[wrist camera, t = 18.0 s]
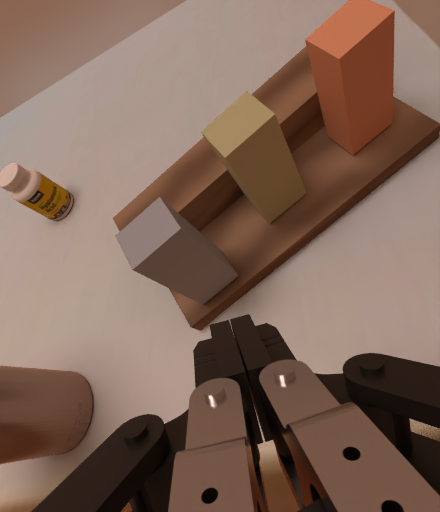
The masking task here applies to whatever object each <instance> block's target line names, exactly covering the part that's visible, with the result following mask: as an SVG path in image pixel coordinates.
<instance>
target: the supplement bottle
mask: <svg viewBox="0 0 440 512" xmlns="http://www.w3.org/2000/svg"><path fill="white" fill-rule="evenodd" d="M0 187H2V188H4V189H5V190H7V191H10V193H11V196H12V197H13V199H15V200H16V201H18V202H19V203H21V204H23V205H25V206H27V207H29V208H31V209H32V210H34V211H36V212H38V213H40V214H42V215H44V216H45V217H47V218H49V219H51V220H60V219H62V218H64V217H65V216H66V215H67V214H68V212H69V211H70V209H71V207H72V204H73V197H72V195H71V194H70V193H69V192H68V191H67V190H65V189H64V188H62V187H61V186H59V185H57V184H56V183H54V182H53V181H51V180H50V179H48V178H47V177H45V176H44V175H42V174H41V173H39V172H38V171H36V170H33V169H27V170H25V169H24V168H23V167H21V166H20V165H18V164H16V163H10V164H8V165H7V166H6V167H5V168H4V169H3V170H2V171H1V173H0Z"/></svg>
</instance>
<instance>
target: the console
mask: <svg viewBox="0 0 440 512" xmlns="http://www.w3.org/2000/svg"><path fill="white" fill-rule="evenodd" d="M252 96H254V97H255V98H256V99H257V100H259V101H260V102H261V103H262V104H263V105H265V106H266V107H267V108H268V109H270V110H271V111H272V112H273V113H275V115H276V117H277V120H278V122H279V125H280V127H281V130H282V132H283V135H284V137H285V140H286V142H287V145H288V147H289V150H290V152H291V155H292V158H293V160H294V163H295V165H296V168H297V170H298V173H299V175H300V178H301V180H302V183H303V185H304V188H305V190H306V194H305V195H304V196H302V197H301V198H300V199H299V200H298V201H296V202H295V203H294V204H293V205H292V206H290V207H289V208H288V209H287V210H286V211H284V212H283V213H282V214H281V215H280V216H278V217H277V218H276V219H275V220H274V221H272V222H271V223H269V222H268V221H267V220H266V219H265V218H264V217H263V216H262V215H261V213H260V212H259V211H258V210H257V209H256V208H255V207H254V206H253V204H252V203H251V202H250V201H249V200H248V198H247V197H246V195H245V194H244V193H243V191H242V190H241V188H240V187H239V186H238V184H237V183H236V181H235V180H234V178H233V177H232V176H231V174H230V173H229V171H228V170H227V168H226V167H225V166H224V164H223V163H222V161H221V160H220V159H219V157H218V156H217V154H216V153H215V151H214V150H213V149H212V147H211V146H210V144H209V143H208V142H207V140H206V139H205V137H203V138H202V139H201V140H200V141H199V142H198V143H197V144H196V145H194V146H193V147H192V148H191V149H190V150H189V151H188V152H187V153H185V154H184V155H183V156H182V157H181V158H180V159H179V160H178V161H176V162H175V163H174V164H173V165H172V166H171V167H170V168H169V169H167V170H166V171H165V172H164V173H163V174H162V175H161V176H160V177H158V178H157V179H156V180H155V181H154V182H153V183H152V184H151V185H149V186H148V187H147V188H146V189H145V190H144V191H143V192H142V193H140V194H139V195H138V196H137V197H136V198H135V199H134V200H133V201H131V202H130V203H129V204H128V205H127V206H126V207H125V208H124V209H122V210H121V211H120V212H119V213H118V214H117V215H116V216H115V217H113V219H114V221H115V223H116V225H117V227H118V229H119V231H121V230H122V229H124V228H125V227H126V226H127V225H128V224H129V223H130V222H132V221H133V220H134V219H135V218H136V217H137V216H138V215H140V214H141V213H142V212H143V211H144V210H145V209H146V208H147V207H149V206H150V205H151V204H152V203H153V202H154V201H155V200H157V199H158V198H159V197H161V198H162V199H163V200H164V201H165V202H166V203H167V204H168V205H170V206H171V207H172V208H173V209H174V210H175V211H176V212H178V213H179V214H180V215H181V216H182V217H183V218H184V219H186V220H187V221H188V222H189V223H190V224H191V225H192V226H194V227H195V228H196V229H197V230H198V231H199V232H200V233H202V234H203V235H204V236H205V237H206V238H207V239H208V240H209V241H211V242H212V243H213V244H214V245H215V246H216V247H217V248H219V249H220V250H221V252H222V253H223V255H224V256H225V257H226V259H227V260H228V261H229V263H230V264H231V265H232V267H233V268H234V270H235V271H236V272H237V274H238V275H239V276H238V277H236V278H235V279H234V280H233V281H232V282H230V283H229V284H228V285H227V286H225V287H224V288H223V289H222V290H221V291H219V292H218V293H217V294H216V295H214V296H213V297H212V298H211V299H210V300H208V301H207V302H206V303H205V304H203V305H202V304H200V303H198V302H196V301H194V300H192V299H190V298H188V297H186V296H184V295H182V294H180V293H178V292H176V291H174V290H172V289H170V288H169V289H170V291H171V293H172V295H173V296H174V298H175V300H176V302H177V304H178V305H179V307H180V309H181V311H182V312H183V314H184V316H185V318H186V320H187V321H188V323H189V325H190V327H192V328H195V329H197V330H200V329H202V328H203V327H204V326H205V325H207V324H208V323H209V322H210V321H212V320H213V319H214V318H215V317H217V316H218V315H219V314H220V313H221V312H223V311H224V310H225V309H226V308H228V307H229V306H230V305H231V304H233V303H234V302H235V301H236V300H238V299H239V298H240V297H241V296H243V295H244V294H245V293H246V292H248V291H249V290H250V289H251V288H252V287H254V286H255V285H256V284H257V283H259V282H260V281H261V280H262V279H264V278H265V277H266V276H267V275H269V274H270V273H271V272H272V271H274V270H275V269H276V268H277V267H278V266H280V265H281V264H282V263H283V262H285V261H286V260H287V259H288V258H290V257H291V256H292V255H293V254H295V253H296V252H297V251H298V250H300V249H301V248H302V247H303V246H305V245H306V244H307V243H308V242H309V241H311V240H312V239H313V238H314V237H316V236H317V235H318V234H319V233H321V232H322V231H323V230H324V229H326V228H327V227H328V226H329V225H331V224H332V223H333V222H334V221H335V220H337V219H338V218H339V217H340V216H342V215H343V214H344V213H345V212H347V211H348V210H349V209H350V208H352V207H353V206H354V205H355V204H357V203H358V202H359V201H360V200H361V199H363V198H364V197H365V196H366V195H368V194H369V193H370V192H371V191H373V190H374V189H375V188H376V187H378V186H379V185H380V184H381V183H383V182H384V181H385V180H386V179H388V178H389V177H390V176H391V175H392V174H394V173H395V172H396V171H397V170H399V169H400V168H401V167H402V166H404V165H405V164H406V163H407V162H409V161H410V160H411V159H412V158H414V157H415V156H416V155H417V154H418V153H420V152H421V151H422V150H423V149H425V148H426V147H427V146H428V145H430V144H431V143H432V142H433V141H435V140H436V139H437V138H438V136H439V131H440V124H439V123H438V122H436V121H434V120H433V119H431V118H429V117H427V116H426V115H424V114H422V113H421V112H419V111H417V110H415V109H414V108H412V107H410V106H409V105H407V104H405V103H403V102H402V101H400V100H398V99H397V98H395V97H393V123H391V124H390V125H389V126H388V127H387V128H385V129H384V130H383V131H382V132H380V133H379V134H378V135H377V136H376V137H374V138H373V139H372V140H371V141H370V142H368V143H367V144H366V145H365V146H364V147H362V148H361V149H360V150H359V151H358V152H356V153H355V154H354V155H352V154H351V153H349V152H348V151H347V150H345V149H344V148H343V147H341V146H340V145H339V144H337V143H336V142H335V141H334V140H332V139H331V138H330V137H328V136H327V132H326V128H325V123H324V119H323V115H322V110H321V106H320V102H319V97H318V93H317V89H316V84H315V80H314V76H313V71H312V67H311V63H310V58H309V54H308V50H307V46H306V47H305V48H304V49H302V50H301V51H300V52H299V53H298V54H297V55H296V56H295V57H293V58H292V59H291V60H290V61H289V62H288V63H287V64H286V65H284V66H283V67H282V68H281V69H280V70H279V71H278V72H277V73H275V74H274V75H273V76H272V77H271V78H270V79H269V80H268V81H266V82H265V83H264V84H263V85H262V86H261V87H260V88H259V89H257V90H256V91H255V92H254V93H253V94H252Z"/></svg>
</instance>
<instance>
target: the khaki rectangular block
mask: <svg viewBox="0 0 440 512" xmlns="http://www.w3.org/2000/svg"><path fill="white" fill-rule="evenodd" d="M201 133H202V134H203V136H204V137H205V139H206V140H207V142H208V143H209V144H210V146H211V147H212V149H213V150H214V151H215V153H216V154H217V156H218V157H219V159H220V160H221V161H222V163H223V164H224V166H225V167H226V168H227V170H228V171H229V173H230V174H231V176H232V177H233V178H234V180H235V181H236V183H237V184H238V186H239V187H240V188H241V190H242V191H243V193H244V194H245V195H246V197H247V198H248V200H249V201H250V202H251V203H252V204H253V206H254V207H255V208H256V209H257V210H258V211H259V212H260V213H261V215H262V216H263V217H264V218H265V219H266V220H267V221H268V222H269V223H271V222H272V221H274V220H275V219H276V218H277V217H278V216H280V215H281V214H282V213H283V212H284V211H286V210H287V209H288V208H289V207H290V206H292V205H293V204H294V203H295V202H296V201H298V200H299V199H300V198H301V197H302V196H304V195H305V194H306V190H305V188H304V185H303V183H302V180H301V178H300V175H299V173H298V170H297V168H296V165H295V163H294V160H293V158H292V155H291V152H290V150H289V147H288V145H287V142H286V140H285V137H284V135H283V132H282V130H281V127H280V125H279V122H278V120H277V117H276V115H275V113H273V112H272V111H271V110H270V109H268V108H267V107H266V106H265V105H263V104H262V103H261V102H260V101H259V100H257V99H256V98H255V97H254V96H252V95H251V94H250V93H249V92H247V91H246V92H245V93H244V94H243V95H242V96H241V97H240V98H239V99H237V100H236V101H235V102H234V103H233V104H232V105H231V106H230V107H229V108H227V109H226V110H225V111H224V112H223V113H222V114H221V115H220V116H218V117H217V118H216V119H215V120H214V121H213V122H212V123H211V124H209V125H208V126H207V127H206V128H205V129H204V130H203V131H202V132H201Z"/></svg>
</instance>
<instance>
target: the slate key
mask: <svg viewBox="0 0 440 512" xmlns="http://www.w3.org/2000/svg"><path fill="white" fill-rule="evenodd" d="M116 238H117V240H118V242H119V244H120V246H121V248H122V250H123V252H124V254H125V256H126V258H127V260H128V262H129V264H130V266H131V268H132V270H134V271H136V272H138V273H140V274H142V275H144V276H146V277H148V278H150V279H152V280H154V281H156V282H158V283H160V284H162V285H164V286H166V287H168V288H170V289H172V290H174V291H176V292H178V293H180V294H182V295H184V296H186V297H188V298H190V299H192V300H194V301H196V302H198V303H200V304H202V305H203V304H205V303H206V302H207V301H208V300H210V299H211V298H212V297H213V296H214V295H216V294H217V293H218V292H219V291H221V290H222V289H223V288H224V287H225V286H227V285H228V284H229V283H230V282H232V281H233V280H234V279H235V278H236V277H238V276H239V275H238V274H237V272H236V271H235V270H234V268H233V267H232V265H231V264H230V263H229V261H228V260H227V259H226V257H225V256H224V255H223V253H222V252H221V250H220V249H219V248H217V247H216V246H215V245H214V244H213V243H212V242H211V241H209V240H208V239H207V238H206V237H205V236H204V235H203V234H202V233H200V232H199V231H198V230H197V229H196V228H195V227H194V226H192V225H191V224H190V223H189V222H188V221H187V220H186V219H184V218H183V217H182V216H181V215H180V214H179V213H178V212H176V211H175V210H174V209H173V208H172V207H171V206H170V205H168V204H167V203H166V202H165V201H164V200H163V199H162V198H161V197H159V198H158V199H157V200H155V201H154V202H153V203H152V204H151V205H150V206H149V207H147V208H146V209H145V210H144V211H143V212H142V213H141V214H140V215H138V216H137V217H136V218H135V219H134V220H133V221H132V222H130V223H129V224H128V225H127V226H126V227H125V228H124V229H122V230H121V231H120V232H119V233H118V234H117V235H116Z"/></svg>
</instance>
